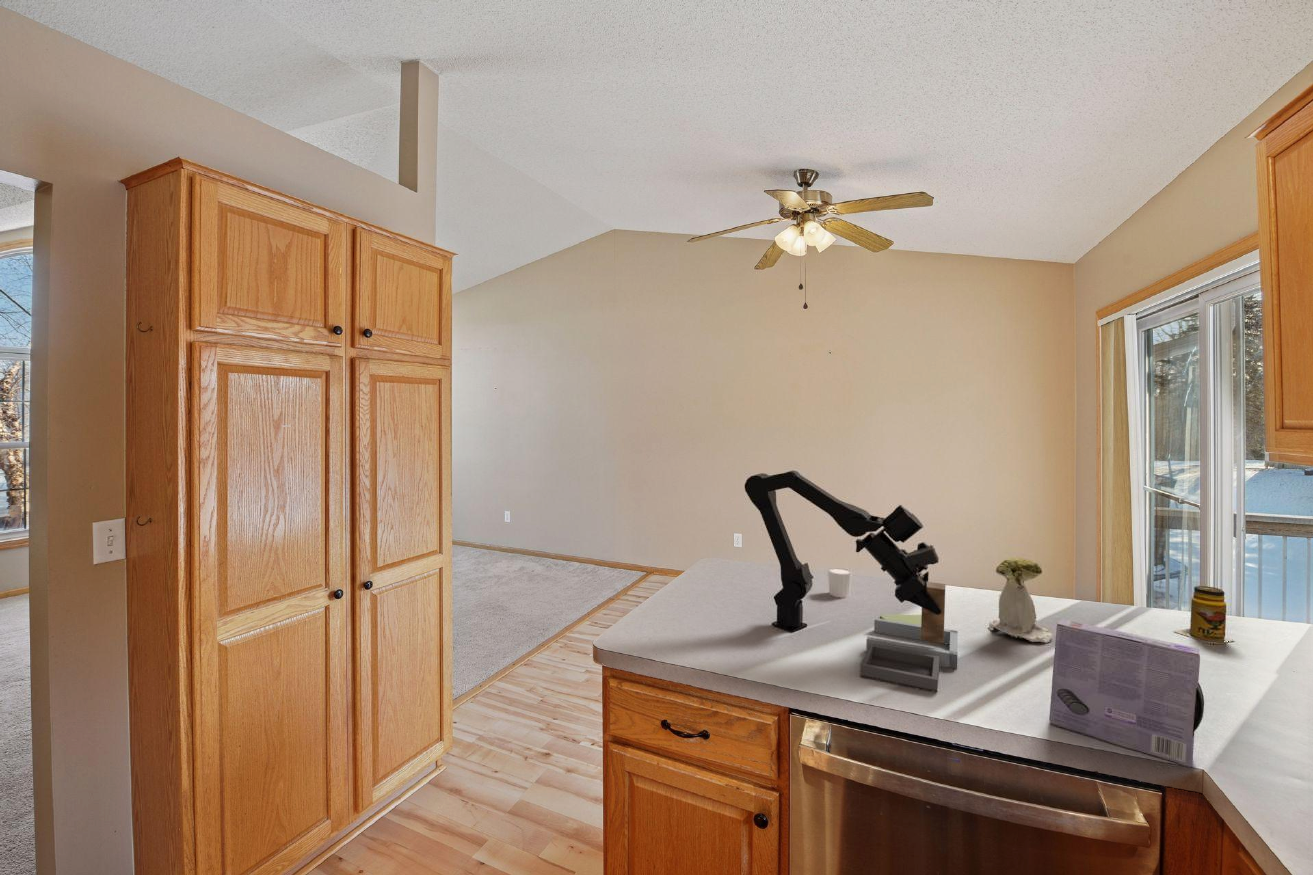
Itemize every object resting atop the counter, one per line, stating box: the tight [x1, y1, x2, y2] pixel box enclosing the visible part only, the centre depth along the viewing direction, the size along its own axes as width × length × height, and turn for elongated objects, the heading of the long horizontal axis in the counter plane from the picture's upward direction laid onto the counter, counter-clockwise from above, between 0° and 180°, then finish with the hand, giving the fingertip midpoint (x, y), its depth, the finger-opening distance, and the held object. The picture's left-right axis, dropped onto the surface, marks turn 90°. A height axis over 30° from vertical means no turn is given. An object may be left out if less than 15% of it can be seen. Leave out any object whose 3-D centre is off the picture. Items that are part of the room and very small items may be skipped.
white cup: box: [827, 567, 853, 599], centre depth 170 cm, size 7×7×7 cm
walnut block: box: [921, 581, 946, 644], centre depth 129 cm, size 4×4×12 cm
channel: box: [865, 617, 959, 670], centre depth 131 cm, size 18×15×3 cm
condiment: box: [1172, 585, 1236, 645], centre depth 138 cm, size 7×8×12 cm
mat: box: [879, 614, 922, 625], centre depth 146 cm, size 11×11×1 cm
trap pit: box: [859, 644, 940, 693], centre depth 119 cm, size 14×12×2 cm
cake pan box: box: [1048, 618, 1205, 768], centre depth 94 cm, size 19×5×18 cm, turn 48°
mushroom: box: [988, 557, 1053, 644], centre depth 139 cm, size 12×13×18 cm
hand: (940, 610), depth 128 cm, fingers closed on walnut block, 4 cm apart
